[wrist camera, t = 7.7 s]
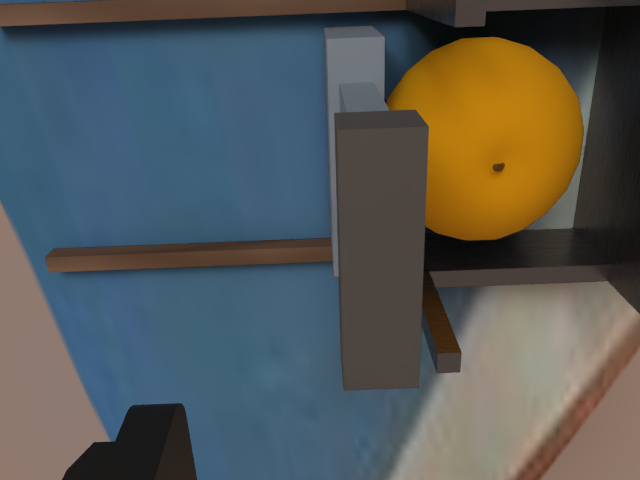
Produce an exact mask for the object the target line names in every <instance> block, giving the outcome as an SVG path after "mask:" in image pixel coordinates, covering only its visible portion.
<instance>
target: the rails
mask: <svg viewBox="0 0 640 480" xmlns="http://www.w3.org/2000/svg"><path fill="white" fill-rule="evenodd" d="M391 10H406V0H97V1H72V2H48V3H23V4H0V26H22V25H47V24H72V23H96V22H121V21H145V20H170V19H195V18H219V17H244V16H268V15H293V14H317V13H342V12H367V11H391ZM45 258H46V262H47V266H48V270H49V272H74V271H100V270H125V269H151V268H176V267H202V266H228V265H253V264H279V263H305V262H330V261H333V257H332V244H331V238H316V239H290V240H265V241H239V242H214V243H188V244H162V245H137V246H111V247H86V248H60V249H53V250H52V251H51V252H50V253H49V254H48V255H47V256H46V257H45Z"/></svg>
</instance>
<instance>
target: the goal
mask: <svg viewBox="0 0 640 480" xmlns="http://www.w3.org/2000/svg"><path fill="white" fill-rule="evenodd" d="M583 7H606V11H605V18H604V25H603V32H602V38H601V45H600V52H599V59H598V65H597V72H596V79H595V85H594V92H593V99H592V106H591V112H590V119H589V126H588V132H587V139H586V146H585V153H584V159H583V166H582V173H581V180H580V186H579V193H578V200H577V206H576V213H575V220H574V227H573V228H571V229H545V230H521V231H518V232H515V233H513V234H510V235H507V236H505V237H502V238H499V239H497V240H469V241H468V240H462V239H458V238H454V237H450V236H446V235H442V234H425V242H424V269H423V295H422V321H421V325H422V328H423V331H424V334H425V337H426V341H427V344H428V347H429V350H430V353H431V356H432V360H433V363H434V366H435V369H436V372H437V373H452V372H460V366H461V350H460V348H459V345H458V343H457V340H456V338H455V335H454V333H453V330H452V328H451V325H450V323H449V320H448V318H447V315H446V313H445V310H444V307H443V305H442V302H441V300H440V297H439V295H438V292H437V290H436V288H442V287H468V286H494V285H520V284H545V283H571V282H597V281H608V282H609V283H610V284H611V285H612V286H613V287H614V288H615V289H616V290H617V291H618V292H619V293H620V294H621V295H622V296H623V297H624V298H625V299H626V300H627V301H628V302H629V303H630V304H631V305H632V306H633V308H634V309H635V310H636V311H637V312H638V313H639V314H640V0H406V10H407V11H410V12H413V13H416V14H419V15H422V16H424V17H427V18H430V19H433V20H436V21H439V22H441V23H444V24H447V25H450V26H453V27H474V26H485V18H486V11H509V10H534V9H558V8H583Z"/></svg>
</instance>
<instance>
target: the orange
mask: <svg viewBox="0 0 640 480" xmlns="http://www.w3.org/2000/svg"><path fill="white" fill-rule="evenodd" d="M386 105H387V106H388V108H389V110H390V111H392V110H416V111H417V112H418V113H419V115H420V116H421V117H422V118H423V120H424V121H425V122H426V123H427V125H428V126H429V137H428V163H427V190H426V216H425V226H426V227H427V228H429V229H431V230H432V231H434V232H436V233H438V234H442V235H446V236H450V237H454V238H458V239H462V240H468V241H469V240H497V239H499V238H502V237H505V236H507V235H510V234H513V233H515V232H518V231H521V230H523V229H524V228H526V227H527V226H529V225H530V224H532V223H533V222H534V221H536V220H537V219H539V218H540V217H542V216H543V215H544V214H546V213H547V212H548V211H549V209H550V208H551V207H552V206H553V205H554V204H555V203H556V201H557V200H558V199H559V198H560V197H561V196H562V195H563V193H564V192H565V191H566V190H567V188H568V186H569V184H570V181H571V179H572V177H573V175H574V172H575V170H576V168H577V165H578V163H579V161H580V155H581V148H582V141H583V134H584V126H583V121H582V115H581V109H580V103H579V98H578V96H577V95H576V93H575V92H574V90H573V88H572V87H571V85H570V84H569V82H568V81H567V79H566V78H565V76H564V75H563V73H562V72H561V70H560V69H559V68H558V67H557V66H556V65H554V64H553V63H552V62H550V61H549V60H547V59H546V58H545V57H543V56H542V55H541V54H539V53H538V52H536V51H535V50H534V49H532V48H531V47H529V46H526V45H523V44H519V43H516V42H513V41H509V40H506V39H503V38H499V37H480V38H461V39H459V40H456V41H454V42H452V43H449V44H447V45H445V46H442V47H440V48H438V49H435V50H433V51H431V52H430V53H428V54H427V55H426V56H425V57H424V58H422V59H421V60H420V61H419V62H418V63H416V64H415V65H414V66H413V67H412V68H410V69H409V70H408V71H407V72H406V73H405V74H404V76H403V77H402V79H401V80H400V82H399V83H398V84H397V86H396V87H395V89H394V90H393V92H392V93H391V94H390V96H389V97H388V99H387V102H386Z"/></svg>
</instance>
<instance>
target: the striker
mask: <svg viewBox="0 0 640 480" xmlns="http://www.w3.org/2000/svg"><path fill="white" fill-rule="evenodd" d="M324 48H325V79H326V109H327V140H328V170H329V201H330V230H331V244H332V257H333V271H334V277H339V306H340V342H341V361H342V374H343V387H344V390H369V389H396V388H419V374H420V348H421V321H422V295H423V269H424V242H425V216H426V190H427V163H428V137H429V126H428V125H427V123H426V122H425V121H424V120H423V118H422V117H421V116H420V115H419V113H418V112H417V111H416V110H392V111H390V110H389V108H388V106H387V105H386V103H385V101H384V80H385V36H383V35H382V34H381V33H380V32H379V31H377V30H376V29H375V28H374V27H372V26H350V27H326V28H324Z"/></svg>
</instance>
